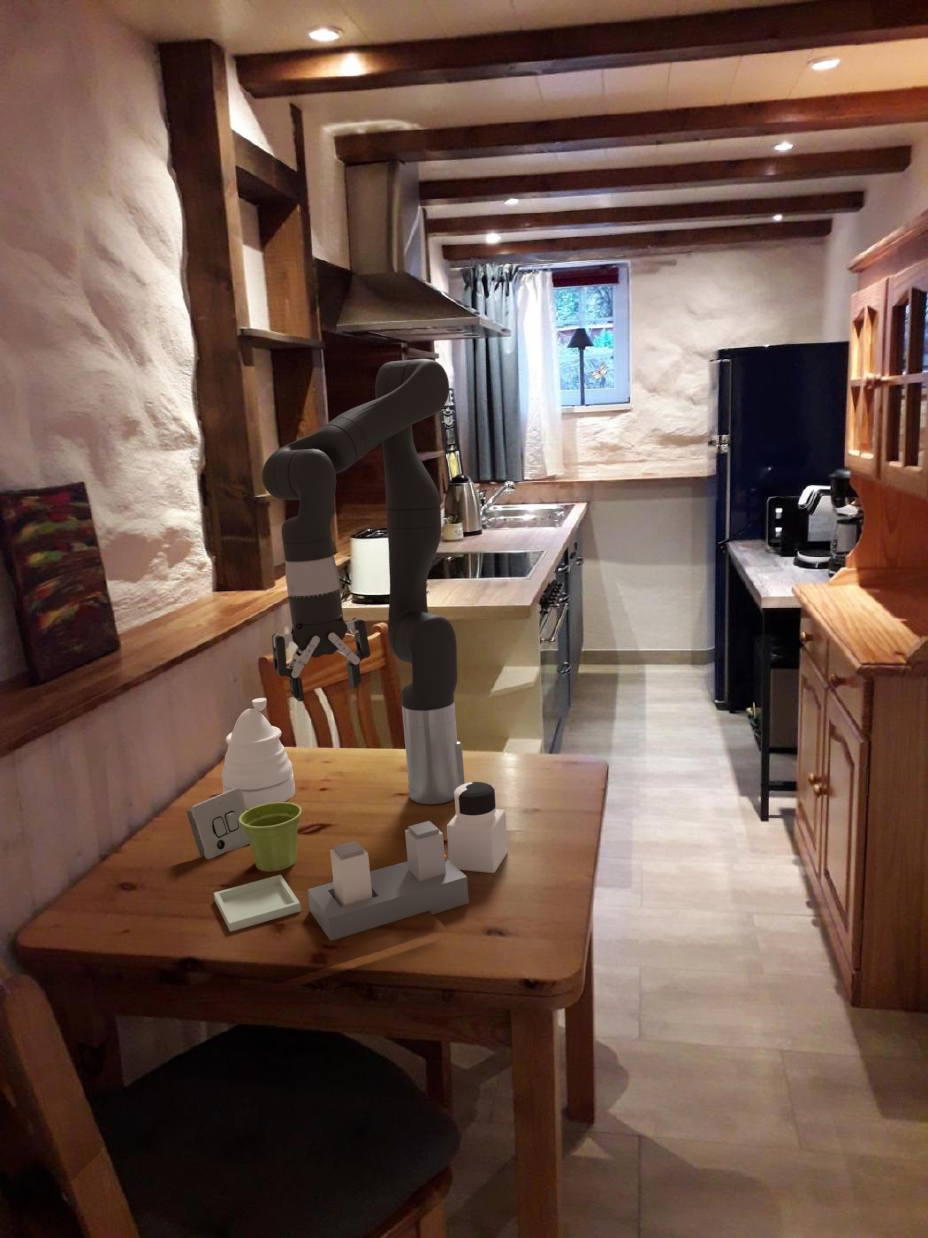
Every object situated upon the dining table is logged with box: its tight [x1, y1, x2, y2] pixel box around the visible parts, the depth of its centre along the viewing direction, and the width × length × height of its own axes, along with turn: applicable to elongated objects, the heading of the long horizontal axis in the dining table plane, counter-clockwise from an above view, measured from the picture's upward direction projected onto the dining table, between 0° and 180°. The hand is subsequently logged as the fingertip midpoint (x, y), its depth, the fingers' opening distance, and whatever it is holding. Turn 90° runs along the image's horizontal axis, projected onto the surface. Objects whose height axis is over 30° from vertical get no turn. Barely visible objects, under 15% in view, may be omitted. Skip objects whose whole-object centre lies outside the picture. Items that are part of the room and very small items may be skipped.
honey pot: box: [221, 697, 296, 809], centre depth 173 cm, size 13×13×18 cm
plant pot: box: [239, 801, 303, 872], centre depth 145 cm, size 9×9×9 cm
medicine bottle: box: [446, 781, 509, 874], centre depth 142 cm, size 7×7×12 cm
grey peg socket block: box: [307, 820, 470, 942], centre depth 130 cm, size 20×9×11 cm, turn 116°
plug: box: [329, 840, 372, 907], centre depth 128 cm, size 4×4×10 cm
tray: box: [213, 874, 302, 933], centre depth 133 cm, size 10×10×2 cm
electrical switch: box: [186, 788, 250, 860], centre depth 153 cm, size 9×5×9 cm, turn 141°
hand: (327, 693), depth 142 cm, fingers open, 8 cm apart
